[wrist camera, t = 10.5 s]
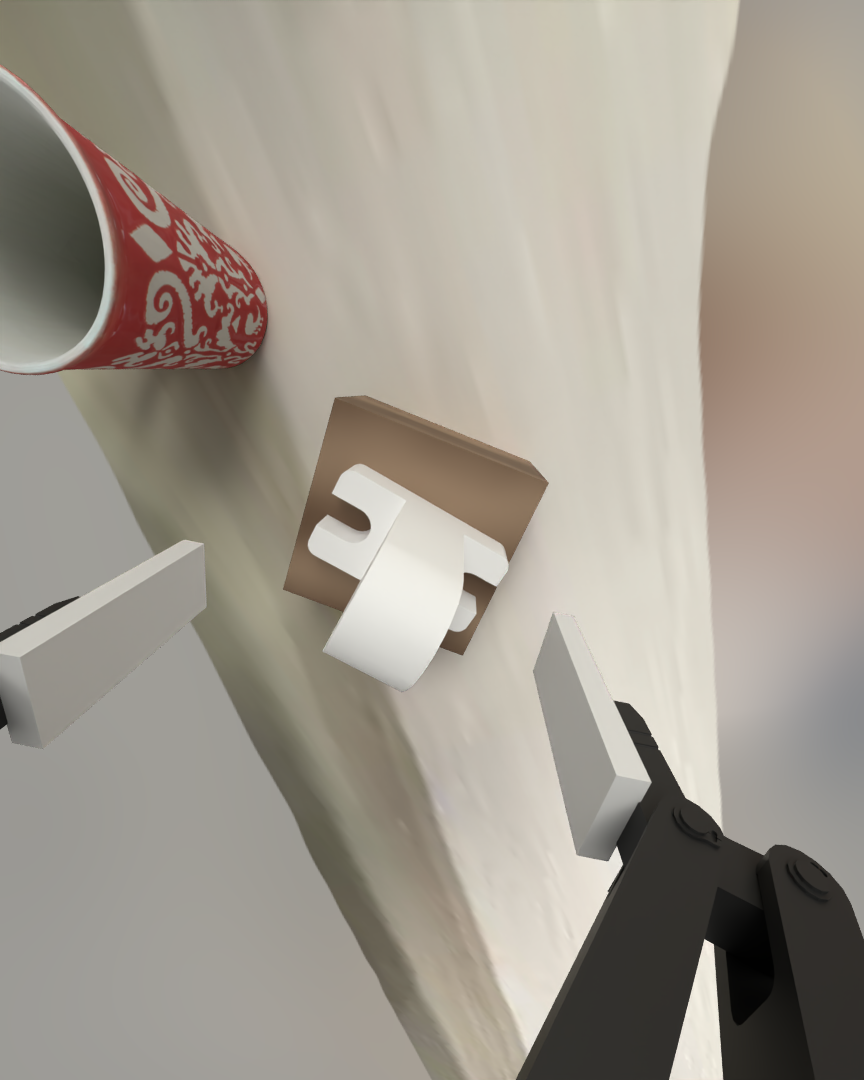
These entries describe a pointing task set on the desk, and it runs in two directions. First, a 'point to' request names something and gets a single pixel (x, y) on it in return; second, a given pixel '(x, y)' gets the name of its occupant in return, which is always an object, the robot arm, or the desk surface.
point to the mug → (107, 260)
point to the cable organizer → (401, 576)
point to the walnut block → (424, 469)
